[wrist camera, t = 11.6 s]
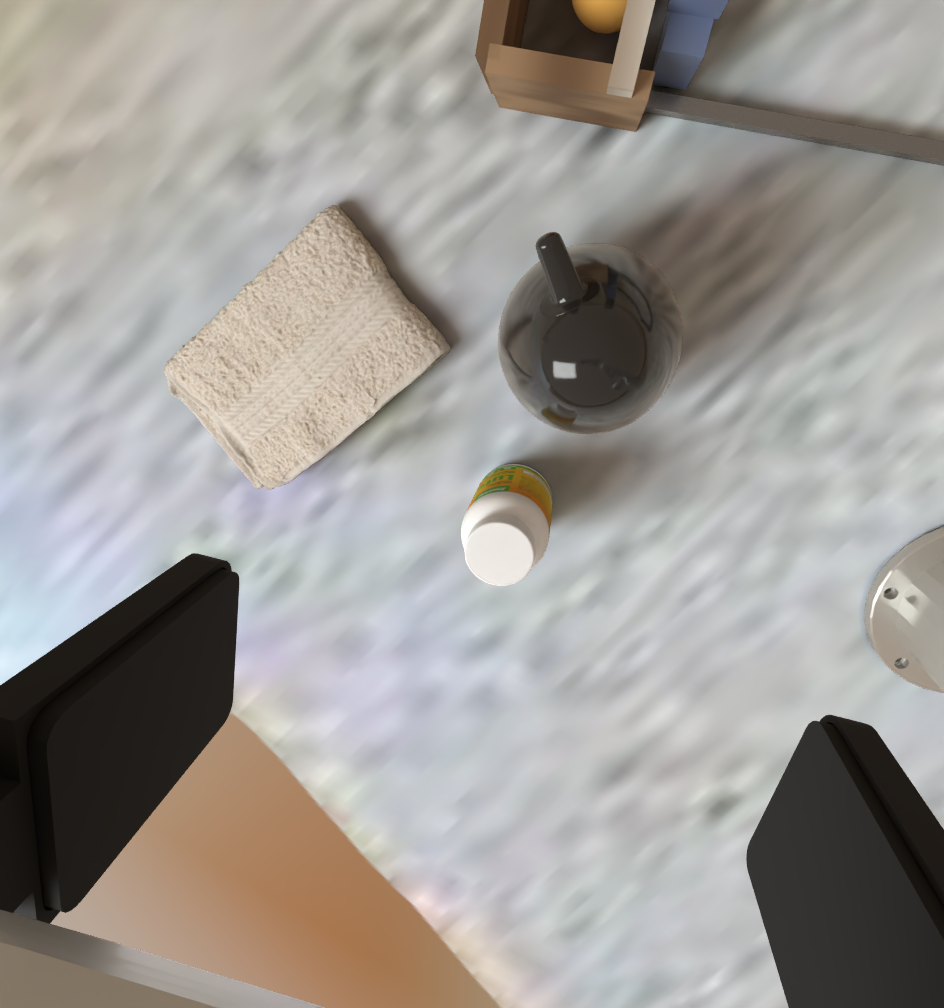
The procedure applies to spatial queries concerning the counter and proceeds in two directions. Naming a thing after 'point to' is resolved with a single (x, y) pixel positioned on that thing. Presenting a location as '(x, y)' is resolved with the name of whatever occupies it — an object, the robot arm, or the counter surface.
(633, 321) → the pump dispenser
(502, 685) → the counter surface
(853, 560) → the counter surface
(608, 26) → the ball
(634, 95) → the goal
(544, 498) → the supplement bottle
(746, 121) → the track
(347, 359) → the washcloth
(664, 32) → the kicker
